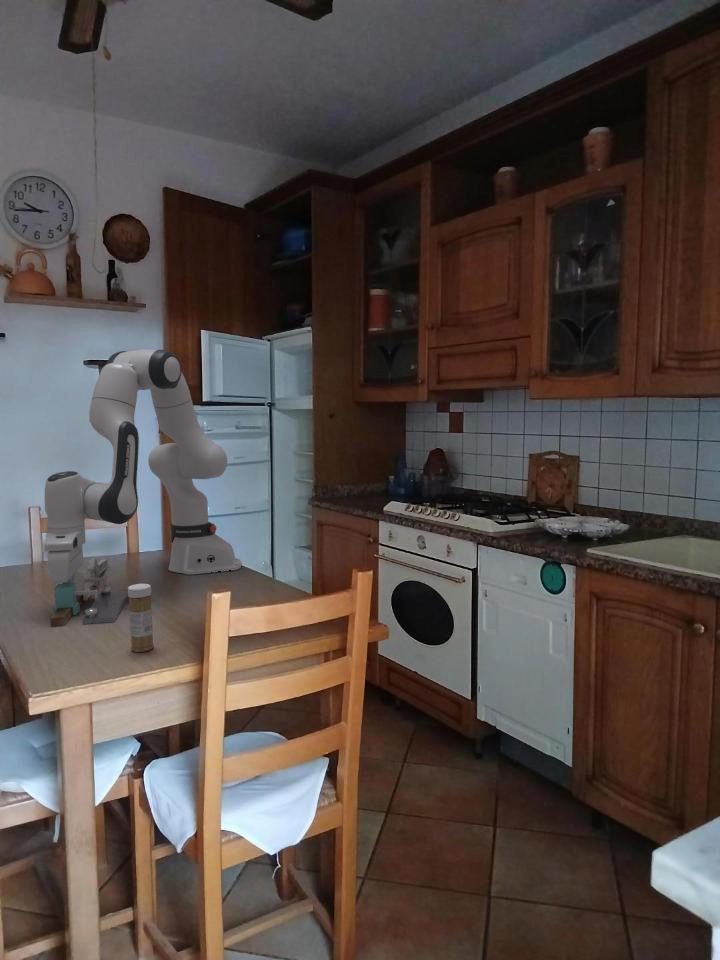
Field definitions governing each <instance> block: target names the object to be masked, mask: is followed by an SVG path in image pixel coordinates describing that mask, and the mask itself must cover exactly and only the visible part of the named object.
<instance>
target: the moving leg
mask: <svg viewBox="0 0 720 960" xmlns="http://www.w3.org/2000/svg"><path fill="white" fill-rule="evenodd" d="M76 595H90V596H91V595H93V597H94V601H96V600H98V595H99V589H95V590H93V589H92V590H90V589H89V591H76V583H67V584H63V583H57V584H56V586H55V587H54V602H55V605H53V606H54V607H52V615H53V614H54V613H55V612H56V610H57V609H58V608H71V607H72V609H73V615H72V616H76V615H77V614H78V613H79V612H80V611H81V610H80V608H81V606H80V605H79V602H77V599H76Z"/></svg>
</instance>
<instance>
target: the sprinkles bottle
mask: <svg viewBox="0 0 720 960" xmlns="http://www.w3.org/2000/svg"><path fill="white" fill-rule="evenodd" d="M127 591H128V596H127V597H128V600H129V601H128V602H129V603H128V605H129V612H128V613H129V626H130V628H129V629H130V641H131V647H130V649H131V651H132V652H134V653H144V652H149V651H150V650H152V649H154V637H153V636H154V635H153V633H154V631H153V630H154V628H153V609H152V600H151V596H152V586H151V584H148V583H137V584H132V585H130V586H128V587H127Z"/></svg>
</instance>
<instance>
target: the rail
mask: <svg viewBox="0 0 720 960" xmlns="http://www.w3.org/2000/svg"><path fill="white" fill-rule="evenodd" d="M76 599H77V602H79V606H80V605H81V604H82V602H83V601H84V600H83V595H76ZM80 603H81V604H80ZM72 616H74V615H73V609H72V607H71V608H58V609H57V610H56V612H55V613H54V614H53V613H52V615H51V616H50V617H49V618H50V619H49V621H50V622H49V623H50V627H51V626H52V627H61V626H60V625H65V626H66V624H67V623H68V622H69V620H70V619H71V617H72ZM67 621H68V622H67Z"/></svg>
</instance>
